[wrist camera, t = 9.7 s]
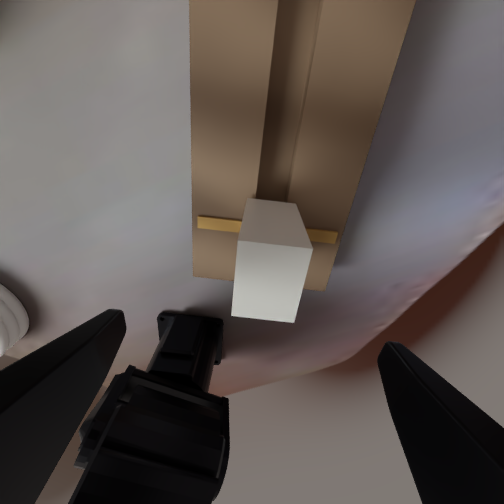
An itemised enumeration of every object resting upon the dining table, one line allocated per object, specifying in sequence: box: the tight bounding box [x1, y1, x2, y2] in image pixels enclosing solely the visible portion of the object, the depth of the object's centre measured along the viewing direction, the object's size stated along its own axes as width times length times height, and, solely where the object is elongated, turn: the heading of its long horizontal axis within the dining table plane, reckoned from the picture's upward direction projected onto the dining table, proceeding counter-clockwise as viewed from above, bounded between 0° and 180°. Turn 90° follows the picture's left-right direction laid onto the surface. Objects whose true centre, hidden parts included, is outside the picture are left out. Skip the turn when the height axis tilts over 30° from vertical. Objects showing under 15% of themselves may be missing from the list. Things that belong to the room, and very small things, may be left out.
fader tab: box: [231, 198, 313, 323], centre depth 14 cm, size 4×3×8 cm
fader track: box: [189, 0, 416, 291], centre depth 14 cm, size 21×10×3 cm, turn 174°
